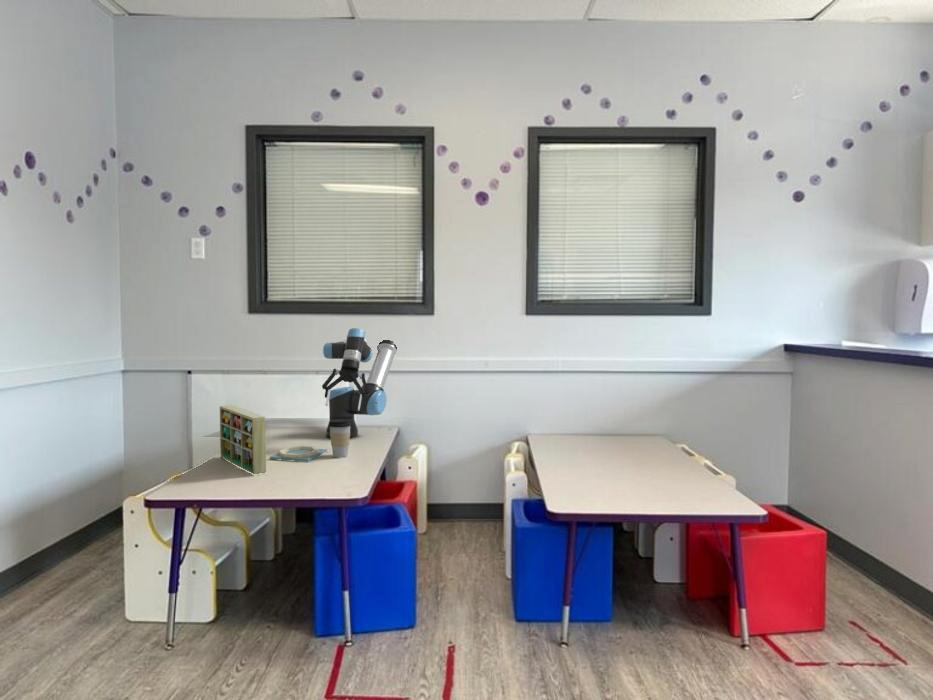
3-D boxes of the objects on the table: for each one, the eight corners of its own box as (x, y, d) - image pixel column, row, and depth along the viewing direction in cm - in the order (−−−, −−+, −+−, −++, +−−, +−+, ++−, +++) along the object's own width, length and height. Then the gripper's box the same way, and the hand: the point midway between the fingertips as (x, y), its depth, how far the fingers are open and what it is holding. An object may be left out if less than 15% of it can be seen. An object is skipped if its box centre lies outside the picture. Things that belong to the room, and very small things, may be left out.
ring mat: (290, 450, 256) (290, 444, 256) (327, 452, 253) (326, 446, 253) (269, 459, 240) (269, 453, 240) (308, 462, 236) (308, 456, 236)
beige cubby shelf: (220, 458, 242) (218, 406, 241) (231, 456, 245) (230, 404, 244) (254, 476, 216) (252, 417, 215) (266, 474, 219) (265, 416, 218)
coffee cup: (346, 459, 240) (345, 422, 239) (324, 458, 242) (324, 422, 241) (355, 454, 249) (354, 418, 248) (334, 452, 251) (333, 417, 250)
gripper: (322, 354, 256) (312, 400, 248) (379, 363, 260) (372, 409, 251) (322, 360, 263) (313, 405, 254) (378, 369, 267) (371, 414, 258)
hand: (342, 407), depth 253 cm, fingers open, 13 cm apart
